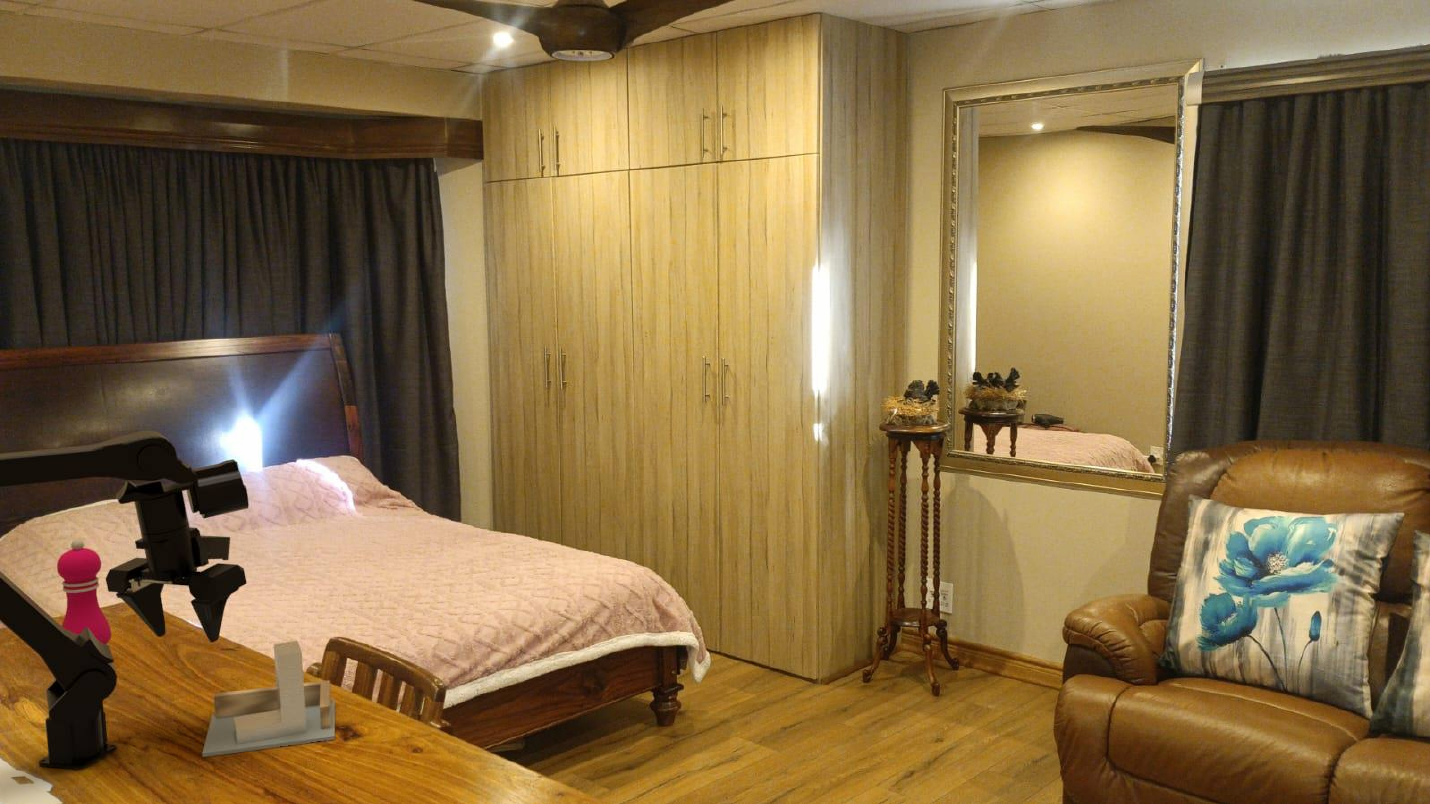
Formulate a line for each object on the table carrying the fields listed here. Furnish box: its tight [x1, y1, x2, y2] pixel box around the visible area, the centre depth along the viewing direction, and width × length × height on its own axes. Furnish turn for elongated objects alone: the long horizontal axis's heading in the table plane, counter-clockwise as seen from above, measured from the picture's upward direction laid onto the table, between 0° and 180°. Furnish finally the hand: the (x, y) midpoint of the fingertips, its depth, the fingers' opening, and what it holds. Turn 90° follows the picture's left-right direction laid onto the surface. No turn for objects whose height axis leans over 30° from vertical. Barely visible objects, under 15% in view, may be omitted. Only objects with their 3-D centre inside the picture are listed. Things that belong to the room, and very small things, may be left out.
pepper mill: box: [56, 538, 112, 645], centre depth 181 cm, size 7×7×20 cm
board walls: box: [213, 680, 332, 729], centre depth 158 cm, size 15×10×4 cm, turn 108°
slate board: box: [201, 699, 336, 758], centre depth 156 cm, size 16×13×1 cm
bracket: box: [234, 640, 306, 744], centre depth 154 cm, size 8×5×11 cm, turn 116°
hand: (187, 638), depth 154 cm, fingers open, 9 cm apart
